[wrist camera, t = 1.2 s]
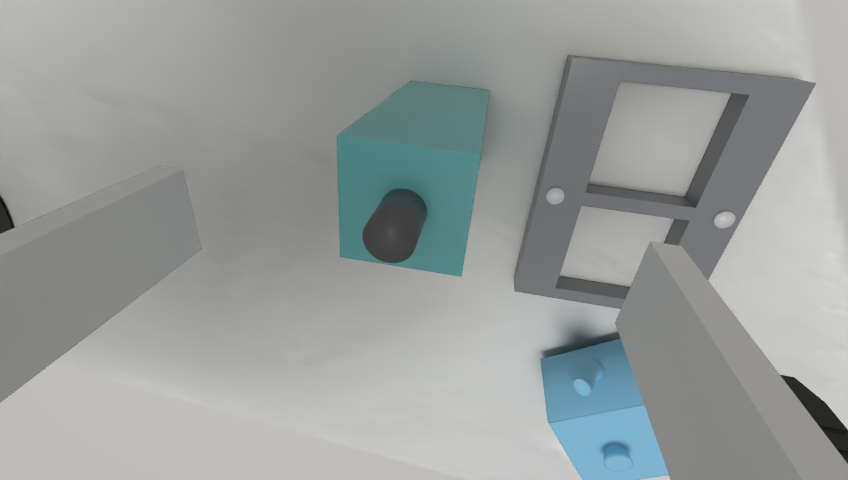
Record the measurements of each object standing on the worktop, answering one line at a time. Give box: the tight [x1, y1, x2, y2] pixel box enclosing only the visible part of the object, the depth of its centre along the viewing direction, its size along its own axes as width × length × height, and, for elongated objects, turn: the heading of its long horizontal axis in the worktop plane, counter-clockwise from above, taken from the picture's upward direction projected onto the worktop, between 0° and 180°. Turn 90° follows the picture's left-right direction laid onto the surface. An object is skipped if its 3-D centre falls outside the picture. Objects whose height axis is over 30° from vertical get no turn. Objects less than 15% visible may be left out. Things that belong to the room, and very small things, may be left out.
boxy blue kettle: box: [540, 338, 669, 480], centre depth 27 cm, size 12×6×8 cm, turn 30°
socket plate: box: [514, 55, 816, 309], centre depth 23 cm, size 11×14×2 cm
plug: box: [337, 81, 490, 276], centre depth 18 cm, size 4×4×14 cm
